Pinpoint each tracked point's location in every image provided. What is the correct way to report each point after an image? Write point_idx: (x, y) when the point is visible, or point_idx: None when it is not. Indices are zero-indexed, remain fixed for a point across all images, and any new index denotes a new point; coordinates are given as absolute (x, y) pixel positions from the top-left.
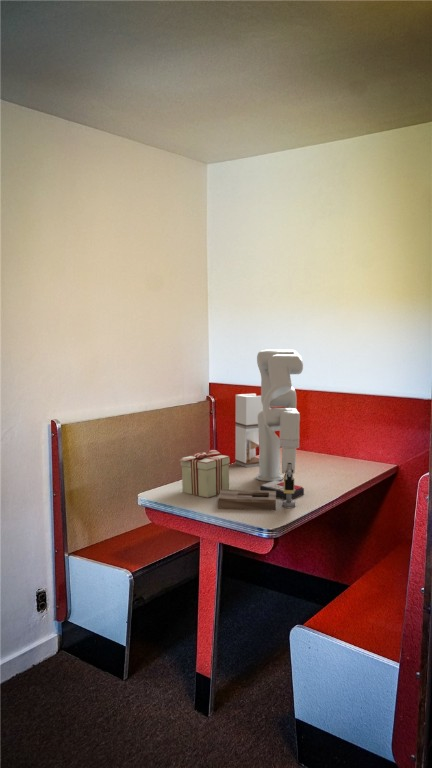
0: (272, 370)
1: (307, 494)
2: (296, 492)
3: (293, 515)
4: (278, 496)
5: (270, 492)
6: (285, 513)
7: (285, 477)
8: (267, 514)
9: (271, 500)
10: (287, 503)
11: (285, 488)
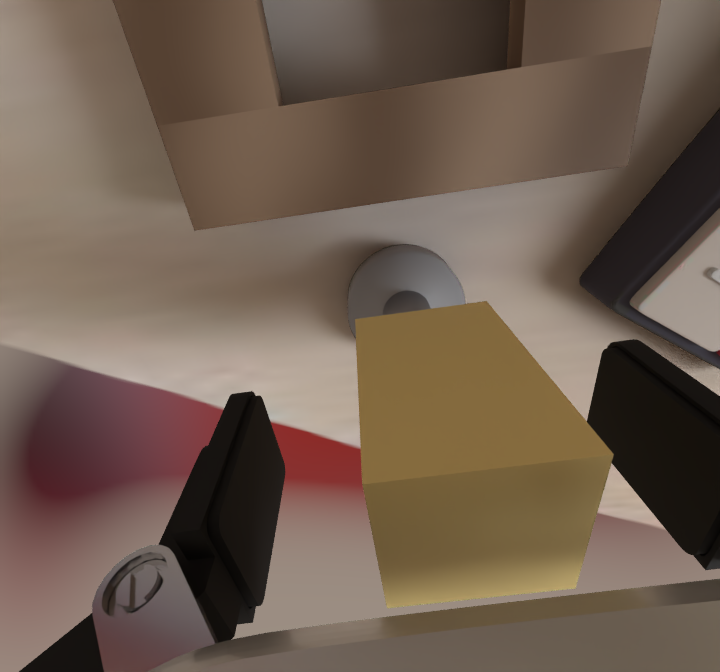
0: None
1: (716, 389)
2: (682, 348)
3: (163, 359)
4: (678, 170)
5: (544, 92)
6: (183, 300)
7: (415, 502)
8: (67, 141)
9: (176, 170)
10: (356, 307)
11: (228, 407)
